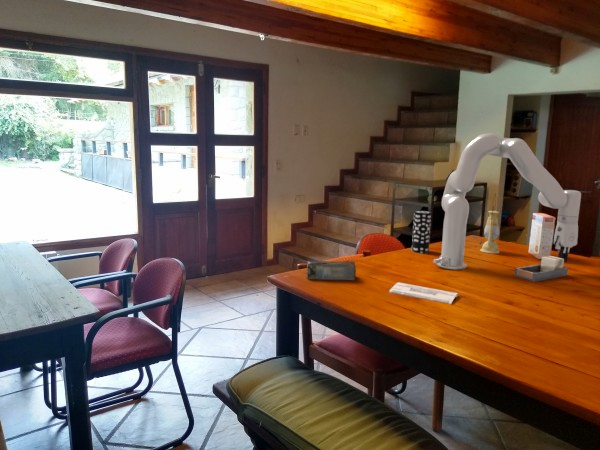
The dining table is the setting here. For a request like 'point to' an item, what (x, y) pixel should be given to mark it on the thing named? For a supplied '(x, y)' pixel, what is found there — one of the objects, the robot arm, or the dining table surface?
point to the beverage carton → (331, 270)
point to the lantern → (491, 233)
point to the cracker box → (541, 235)
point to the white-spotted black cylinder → (421, 231)
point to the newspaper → (423, 293)
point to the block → (551, 263)
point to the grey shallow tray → (539, 273)
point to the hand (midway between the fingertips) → (562, 261)
